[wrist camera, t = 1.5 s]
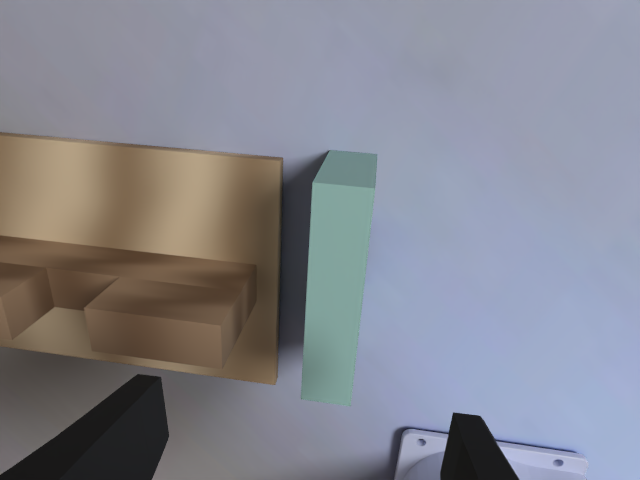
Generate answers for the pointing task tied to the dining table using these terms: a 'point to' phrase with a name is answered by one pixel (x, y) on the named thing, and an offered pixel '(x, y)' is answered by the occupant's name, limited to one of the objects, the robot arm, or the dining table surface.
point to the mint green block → (336, 274)
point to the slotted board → (141, 255)
